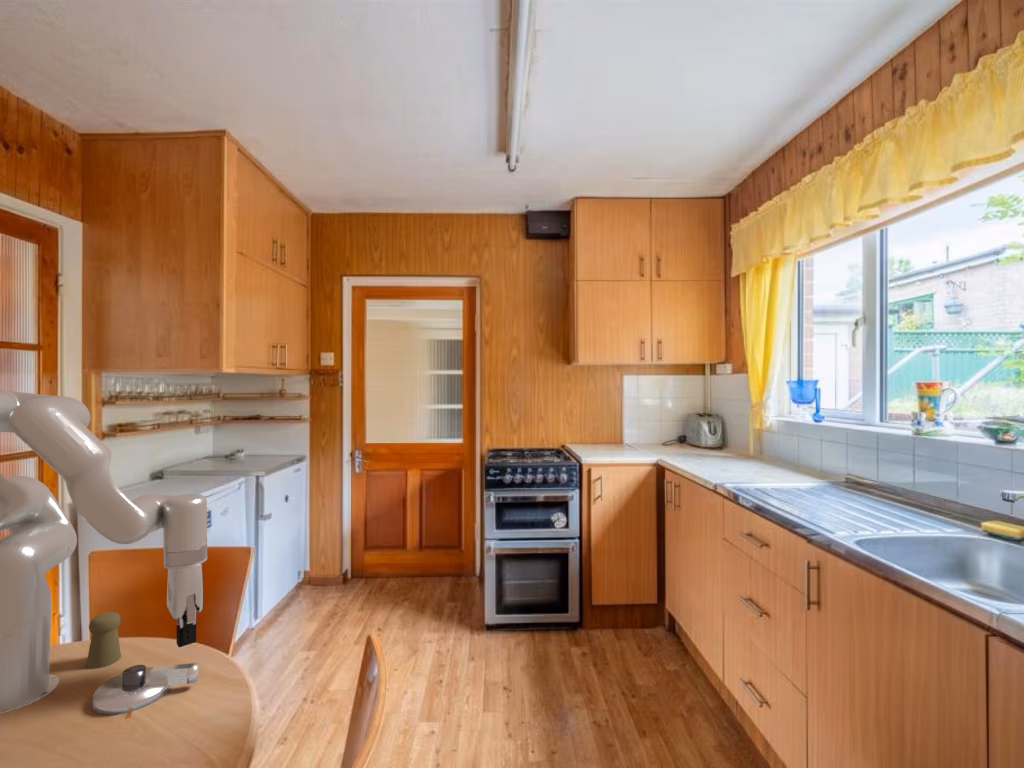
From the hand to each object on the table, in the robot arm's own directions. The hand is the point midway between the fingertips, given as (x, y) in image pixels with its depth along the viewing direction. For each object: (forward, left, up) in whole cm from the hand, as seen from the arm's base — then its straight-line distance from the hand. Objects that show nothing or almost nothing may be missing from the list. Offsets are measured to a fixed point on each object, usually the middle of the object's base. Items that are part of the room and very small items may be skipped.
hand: (186, 643), depth 100 cm
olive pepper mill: (-19, +4, -8) cm, 21 cm away
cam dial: (-3, -6, -6) cm, 9 cm away
